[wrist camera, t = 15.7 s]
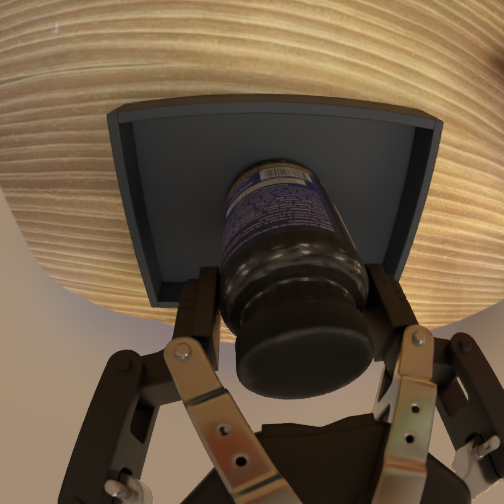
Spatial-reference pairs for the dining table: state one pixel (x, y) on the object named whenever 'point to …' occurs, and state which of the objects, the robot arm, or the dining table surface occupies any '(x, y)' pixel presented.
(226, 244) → the pill bottle
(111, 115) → the tray
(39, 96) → the dining table surface
